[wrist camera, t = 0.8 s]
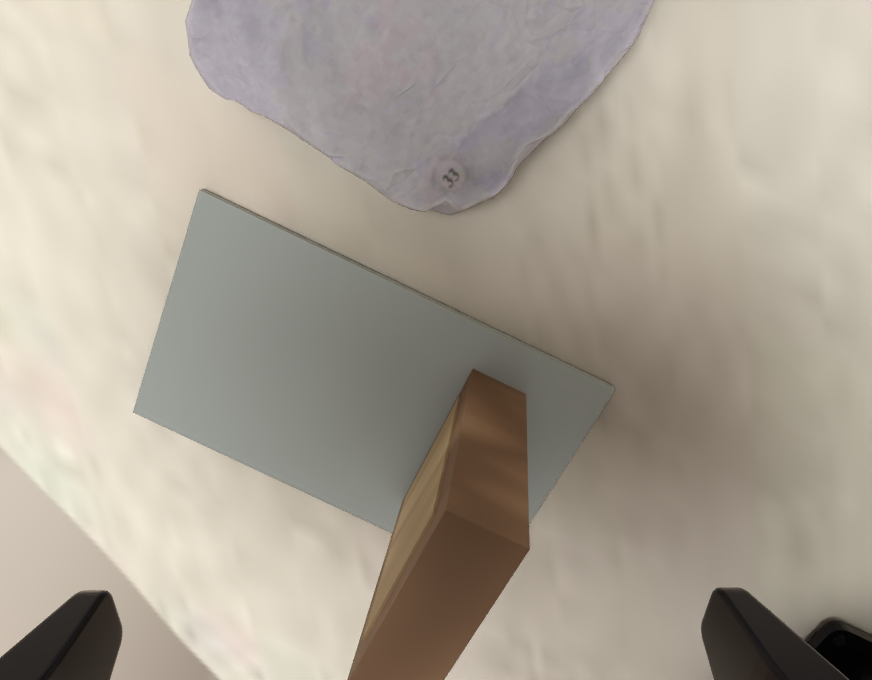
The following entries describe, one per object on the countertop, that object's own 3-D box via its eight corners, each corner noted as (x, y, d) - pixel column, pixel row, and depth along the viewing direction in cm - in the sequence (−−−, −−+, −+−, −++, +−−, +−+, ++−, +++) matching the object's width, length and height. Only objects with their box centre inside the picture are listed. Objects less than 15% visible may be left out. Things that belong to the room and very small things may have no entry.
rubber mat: (614, 386, 21) (615, 389, 20) (493, 574, 24) (493, 580, 23) (203, 188, 20) (199, 189, 20) (137, 408, 23) (133, 412, 23)
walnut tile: (525, 394, 21) (529, 549, 13) (450, 523, 23) (417, 720, 15) (470, 367, 21) (442, 508, 13) (400, 500, 23) (342, 686, 15)
